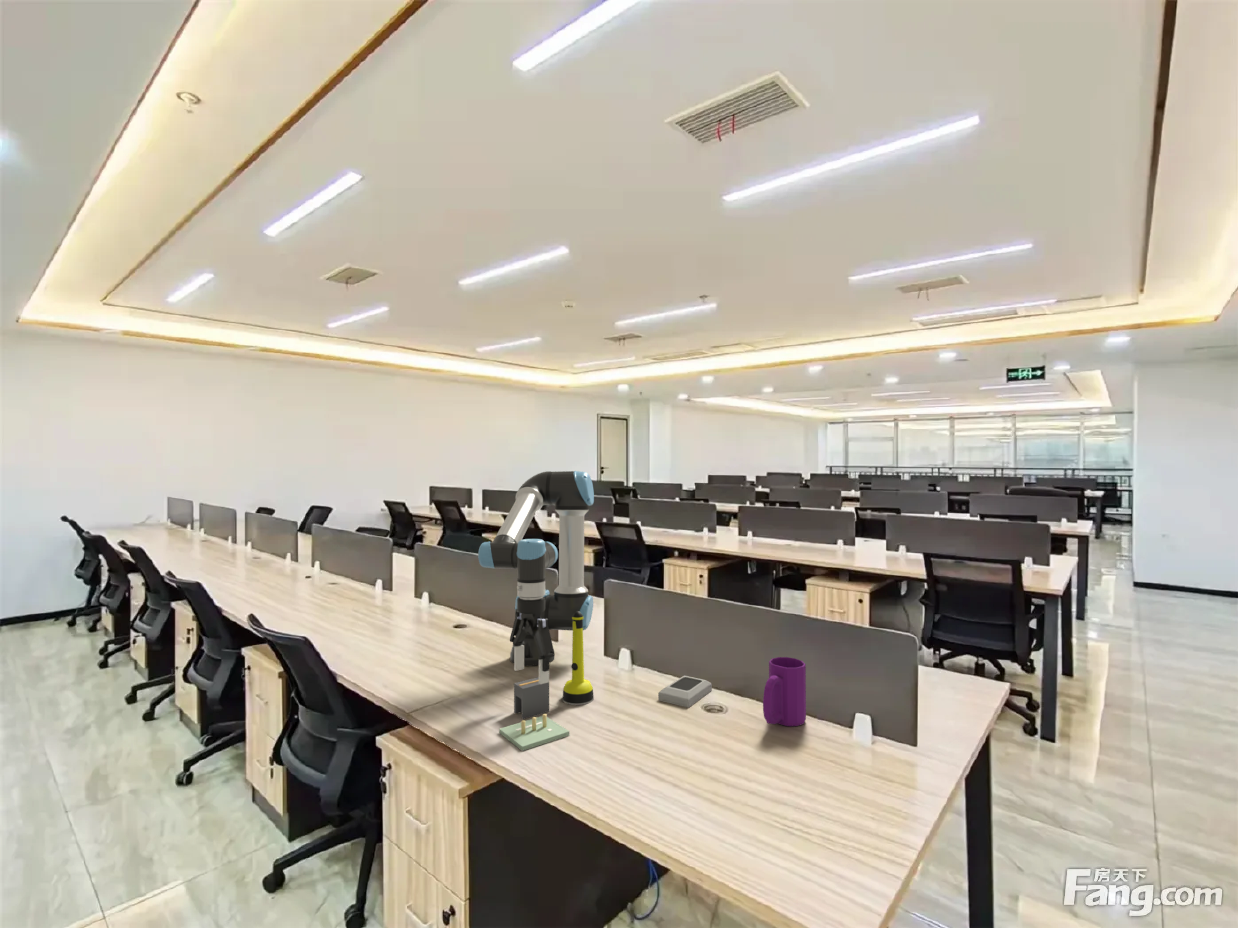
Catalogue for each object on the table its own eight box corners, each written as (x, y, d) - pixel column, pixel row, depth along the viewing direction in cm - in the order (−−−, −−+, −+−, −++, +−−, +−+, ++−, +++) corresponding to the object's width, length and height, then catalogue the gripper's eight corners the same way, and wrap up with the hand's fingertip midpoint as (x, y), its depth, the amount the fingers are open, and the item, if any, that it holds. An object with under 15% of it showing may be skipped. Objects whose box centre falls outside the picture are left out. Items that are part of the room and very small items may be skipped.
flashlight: (575, 606, 175) (555, 612, 168) (599, 610, 170) (580, 616, 163) (576, 690, 175) (555, 700, 168) (600, 697, 170) (580, 707, 163)
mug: (812, 719, 154) (811, 662, 155) (782, 739, 143) (782, 677, 143) (780, 709, 161) (779, 654, 161) (749, 728, 150) (749, 668, 150)
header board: (544, 719, 156) (544, 703, 156) (569, 735, 146) (569, 719, 146) (499, 732, 148) (499, 716, 148) (522, 751, 138) (522, 733, 138)
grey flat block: (658, 688, 168) (683, 673, 180) (658, 701, 168) (683, 685, 180) (688, 695, 163) (711, 679, 175) (688, 709, 163) (711, 691, 175)
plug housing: (540, 705, 164) (539, 676, 164) (549, 711, 160) (549, 681, 160) (514, 713, 160) (513, 682, 160) (522, 719, 156) (522, 688, 156)
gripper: (497, 591, 168) (497, 667, 167) (542, 606, 148) (542, 692, 147) (521, 588, 172) (521, 662, 172) (567, 602, 153) (567, 685, 152)
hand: (531, 676), depth 160 cm, fingers open, 13 cm apart
